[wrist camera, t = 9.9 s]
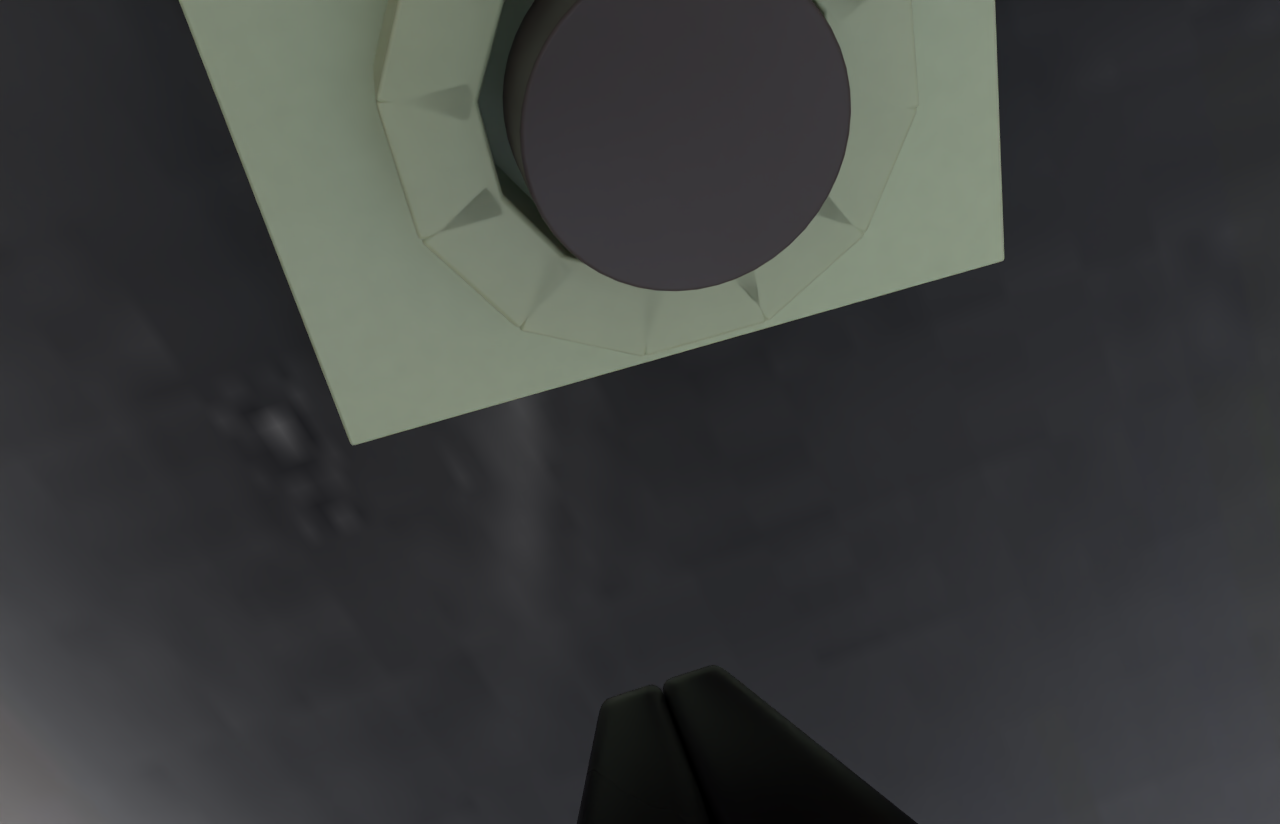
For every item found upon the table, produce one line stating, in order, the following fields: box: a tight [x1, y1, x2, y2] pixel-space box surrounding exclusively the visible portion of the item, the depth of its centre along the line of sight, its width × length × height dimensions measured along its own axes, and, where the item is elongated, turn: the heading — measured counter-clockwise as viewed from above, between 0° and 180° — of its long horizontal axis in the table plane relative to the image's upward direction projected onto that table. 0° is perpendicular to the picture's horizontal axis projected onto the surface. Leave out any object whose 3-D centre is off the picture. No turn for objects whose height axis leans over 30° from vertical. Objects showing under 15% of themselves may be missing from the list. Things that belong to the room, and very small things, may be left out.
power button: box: [503, 0, 851, 291], centre depth 14 cm, size 4×4×2 cm
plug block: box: [179, 0, 1004, 445], centre depth 16 cm, size 11×9×4 cm
